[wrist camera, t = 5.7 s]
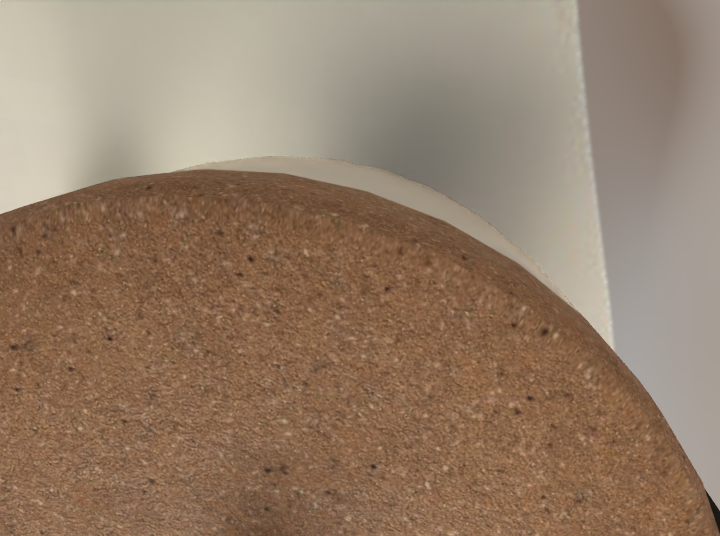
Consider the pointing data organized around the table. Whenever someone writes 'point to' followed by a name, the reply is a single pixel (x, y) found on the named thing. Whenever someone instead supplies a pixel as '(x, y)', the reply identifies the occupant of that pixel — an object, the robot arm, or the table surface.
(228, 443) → the trinket box
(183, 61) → the table surface
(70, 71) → the table surface
